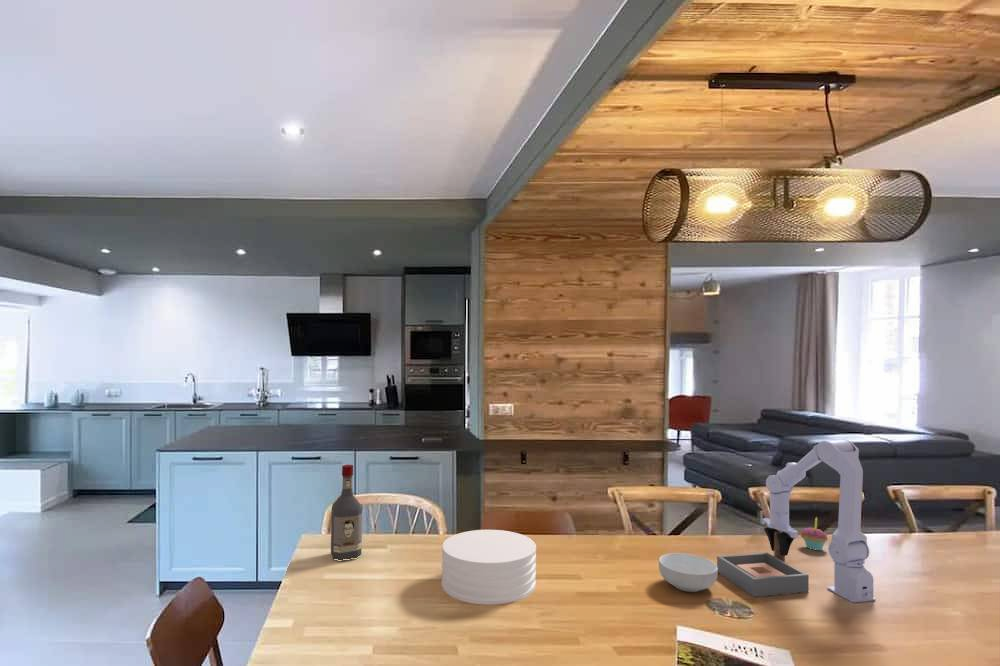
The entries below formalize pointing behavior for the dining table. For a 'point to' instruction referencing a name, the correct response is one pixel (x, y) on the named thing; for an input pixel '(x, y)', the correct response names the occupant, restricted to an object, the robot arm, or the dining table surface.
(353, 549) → the liquor
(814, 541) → the cupcake
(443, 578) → the plate stack
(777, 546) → the peg
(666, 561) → the cereal bowl
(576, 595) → the dining table surface
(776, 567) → the box
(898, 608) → the dining table surface
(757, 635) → the dining table surface
